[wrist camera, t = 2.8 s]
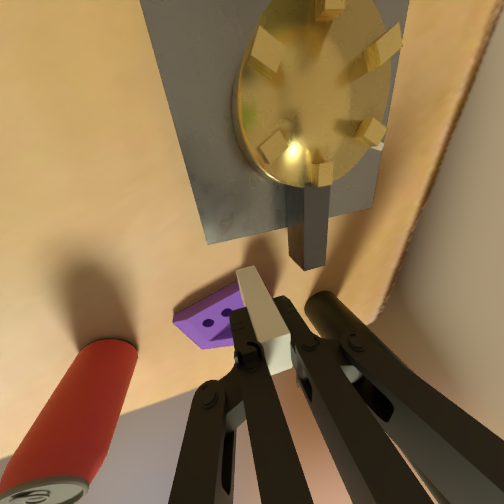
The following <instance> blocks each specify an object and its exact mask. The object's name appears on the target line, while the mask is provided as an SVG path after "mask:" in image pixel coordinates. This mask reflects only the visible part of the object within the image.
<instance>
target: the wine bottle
mask: <svg viewBox="0 0 504 504" xmlns="http://www.w3.org/2000/svg"><path fill="white" fill-rule="evenodd" d="M305 314H306V316H307V317H308V319H309V320H310V321H311V323H312V324H313V326H314V327H315V329H316V330H317V331H318V333H319V334H320V336H321V337H322V338H324V339H341V336H342V335H343V334H344V333H346V332H356V333H360V334H361V335H363V336H365V337H366V338H368V339H369V340H370V341H372V342H373V343H374V344H376V345H377V346H378V347H380V348H381V349H382V350H384V351H385V352H386V353H388V354H389V355H390V356H392V357H393V358H394V359H396V360H397V361H398V362H400V363H401V364H402V365H404V366H405V367H406V368H408V369H409V370H410V371H412V370H411V369H410V368H409V367H408V366H407V365H406V364H405V363H404V362H402V361H401V359H400V358H399V357H398V356H397V355H395V354H394V353H393V352H392V351H391V350H390V349H389V348H388V347H387V346H386V345H385V344H384V343H383V342H382V341H381V340H380V339H379V338H378V337H377V336H376V335H375V334H374V333H373V332H372V331H371V330H370V329H369V328H368V327H367V326H366V325H365V324H364V323H363V322H362V321H361V320H360V319H359V318H357V317H356V316H355V315H354V314H353V313H352V312H351V311H350V310H349V309H348V308H347V307H346V306H345V305H344V304H343V303H342V302H341V301H340V300H339V299H338V298H337V297H336V296H335V295H334V294H333V293H331V292H328V291H323V292H319V293H317V294H315V295H314V296H312V297H311V298H310V299H309V300H308V302H307V303H306V305H305ZM412 372H413V371H412ZM413 373H414V372H413ZM414 374H415V373H414ZM398 447H399V446H398ZM401 451H402V450H401ZM402 452H403V451H402ZM403 454H404V455H405V457H406V458H407V459H408V461H409V462H410V464H411V465H412V466H413V468H414V469H415V470H416V472H417V474H418V475H419V476H420V478H421V479H422V481H423V482H424V483H425V485H426V486H427V488H428V489H429V491H430V492H431V494H432V495H433V496H434V498H435V499H436V501H437V502H438V503H439V504H451V503H450V502H449V501H448V500H447V499H446V498H445V497H444V496H443V494H442V493H441V492H440V491H439V490H438V489H437V488H436V487H435V486H434V485H433V484H432V482H431V481H430V480H429V479H428V478H427V477H426V476H425V475H424V474H423V473H422V472H421V470H420V469H419V468H418V467H417V466H416V465H415V464H414V463H413V462H412V461H411V460H410V458H409V457H408V456H407V455H406V454H405V453H404V452H403Z"/></svg>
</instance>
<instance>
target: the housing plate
mask: <svg viewBox="0 0 504 504" xmlns="http://www.w3.org/2000/svg"><path fill="white" fill-rule="evenodd" d="M271 1H272V0H140V4H141V7H142V11H143V14H144V18H145V22H146V25H147V29H148V32H149V36H150V39H151V43H152V47H153V50H154V54H155V57H156V61H157V65H158V68H159V72H160V75H161V79H162V83H163V86H164V90H165V93H166V97H167V101H168V104H169V108H170V111H171V115H172V118H173V122H174V126H175V129H176V133H177V136H178V140H179V144H180V147H181V151H182V154H183V158H184V162H185V165H186V169H187V172H188V176H189V180H190V183H191V187H192V190H193V194H194V197H195V201H196V205H197V208H198V212H199V215H200V219H201V223H202V226H203V230H204V233H205V237H206V241H207V244H208V245H211V244H215V243H219V242H224V241H228V240H232V239H237V238H241V237H246V236H250V235H254V234H259V233H263V232H268V231H272V230H276V229H281V228H285V227H288V223H287V200H286V184H282V183H278V182H275V181H272V180H270V179H268V178H266V177H264V176H263V175H261V174H260V173H259V172H258V171H257V170H256V169H255V168H254V167H253V166H252V165H251V164H250V163H249V161H248V160H247V159H246V157H245V155H244V154H243V152H242V150H241V148H240V145H239V143H238V140H237V137H236V134H235V130H234V125H233V117H232V95H233V87H234V83H235V78H236V74H237V72H238V69H239V66H240V63H241V61H242V58H243V56H244V53H245V51H246V48H247V46H248V43H249V41H250V38H251V36H252V33H253V31H254V29H255V27H256V25H257V23H258V21H259V19H260V17H261V15H262V14H263V12H264V11H265V9H266V8H267V6H268V5H269V3H270V2H271ZM372 1H373V2H374V4H375V5H376V7H377V9H378V11H379V13H380V15H381V18H382V20H383V23H384V26H385V29H386V31H387V30H388V29H389V28H391V27H392V26H394V25H395V24H396V23H398V22H399V24H400V31H401V37H402V38H403V33H404V27H405V22H406V16H407V11H408V5H409V0H372ZM400 49H401V48H400ZM400 49H399V50H398V51H397V52H396V53H395V54H394V55H392V56H391V57H390V58H391V78H390V88H389V95H388V100H387V105H386V109H385V112H384V115H383V119H382V121H381V124H382V125H384V126H385V127H387V121H388V116H389V110H390V105H391V99H392V93H393V88H394V82H395V77H396V71H397V66H398V60H399V55H400ZM384 138H385V134H384V136H383V138H382V140H381V142H380V143H379V145H378V146H375V147H369V148H368V150H367V151H366V153H365V154H364V155H363V157H362V158H361V159H360V160H359V161H358V163H357V164H356V165H355V166H354V167H353V168H352V169H351V170H350V171H349V172H347V173H346V174H345V175H343V176H342V177H341V178H339V179H337V180H335V181H334V182H332V185H331V188H330V202H329V217H334V216H338V215H342V214H347V213H351V212H356V211H360V210H364V209H369V208H372V204H373V198H374V193H375V187H376V182H377V176H378V171H379V165H380V160H381V154H382V149H383V147H384ZM329 217H328V218H329Z"/></svg>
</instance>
